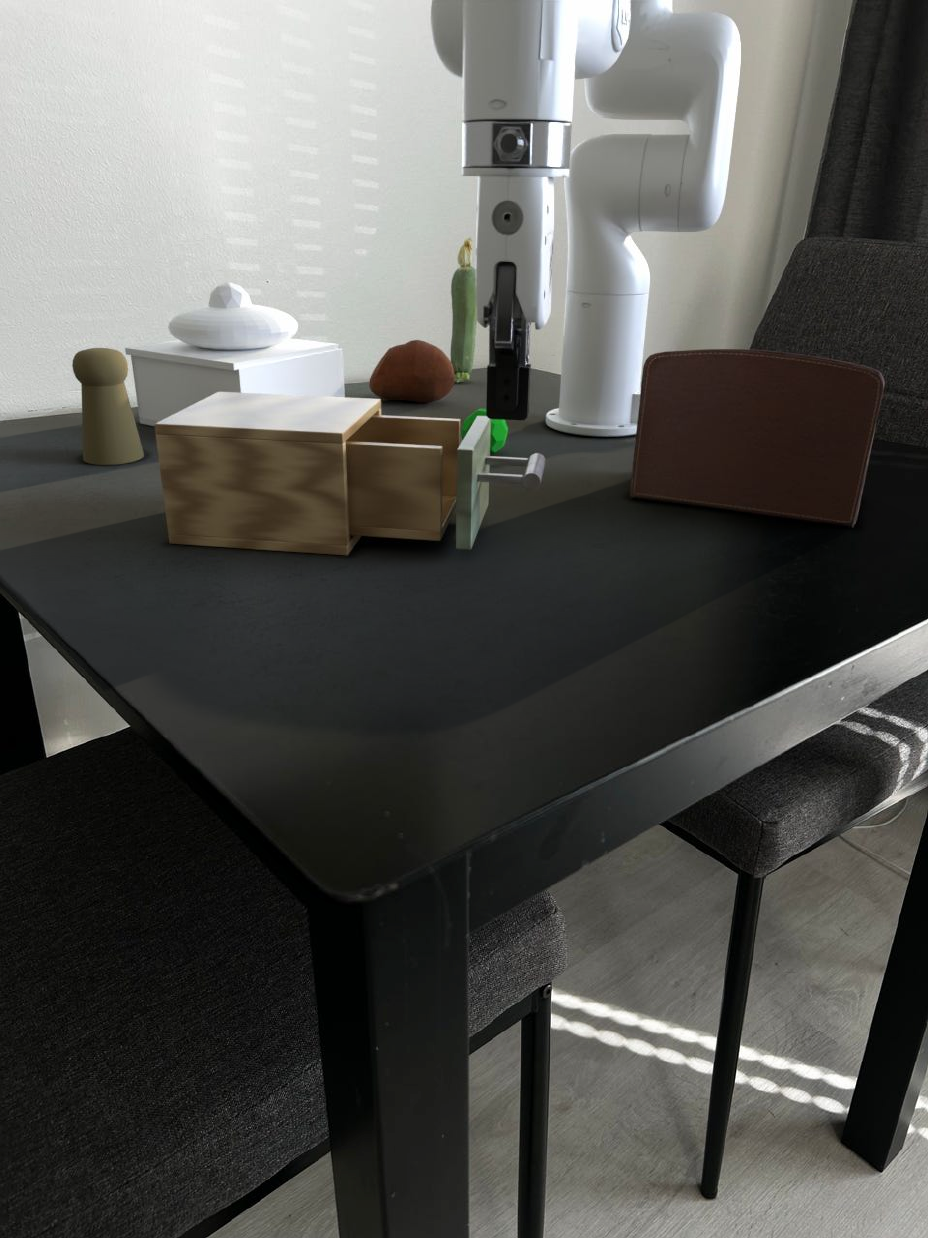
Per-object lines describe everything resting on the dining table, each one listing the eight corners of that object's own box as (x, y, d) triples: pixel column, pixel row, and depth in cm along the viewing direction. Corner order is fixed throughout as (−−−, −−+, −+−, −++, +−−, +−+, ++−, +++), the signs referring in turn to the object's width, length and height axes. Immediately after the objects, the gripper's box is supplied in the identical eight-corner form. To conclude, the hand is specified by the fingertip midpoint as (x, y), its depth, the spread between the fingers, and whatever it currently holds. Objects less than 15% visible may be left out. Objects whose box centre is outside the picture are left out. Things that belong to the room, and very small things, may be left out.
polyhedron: (454, 450, 100) (454, 406, 98) (494, 446, 102) (496, 403, 100) (472, 461, 96) (473, 416, 94) (514, 457, 98) (516, 413, 96)
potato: (373, 393, 128) (372, 334, 124) (455, 395, 127) (456, 336, 124) (366, 405, 121) (364, 342, 117) (453, 407, 120) (454, 344, 117)
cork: (125, 466, 92) (108, 354, 88) (71, 462, 93) (52, 351, 89) (154, 451, 98) (141, 345, 93) (103, 448, 99) (87, 343, 94)
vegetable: (449, 378, 139) (450, 236, 130) (477, 378, 139) (480, 236, 130) (451, 384, 135) (452, 237, 126) (480, 384, 135) (483, 238, 126)
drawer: (544, 508, 79) (549, 418, 76) (535, 554, 69) (540, 453, 66) (339, 495, 82) (335, 408, 78) (300, 539, 71) (294, 440, 68)
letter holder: (855, 528, 78) (890, 360, 73) (627, 499, 85) (642, 343, 79) (855, 496, 87) (887, 344, 81) (648, 472, 93) (663, 329, 87)
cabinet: (383, 506, 82) (381, 398, 78) (347, 555, 71) (342, 433, 67) (228, 496, 84) (218, 391, 80) (169, 543, 73) (153, 423, 69)
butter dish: (345, 416, 114) (340, 281, 108) (242, 445, 101) (228, 293, 94) (244, 399, 123) (233, 273, 116) (135, 423, 109) (115, 282, 102)
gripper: (565, 151, 56) (550, 444, 64) (573, 156, 69) (560, 398, 77) (445, 150, 57) (444, 439, 65) (476, 155, 70) (472, 394, 78)
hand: (507, 416), depth 71 cm, fingers closed
